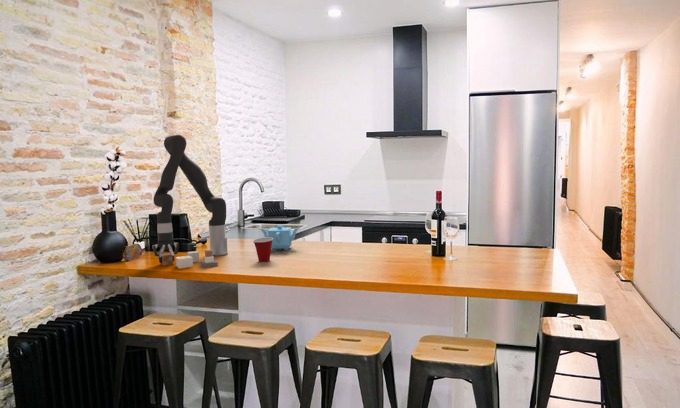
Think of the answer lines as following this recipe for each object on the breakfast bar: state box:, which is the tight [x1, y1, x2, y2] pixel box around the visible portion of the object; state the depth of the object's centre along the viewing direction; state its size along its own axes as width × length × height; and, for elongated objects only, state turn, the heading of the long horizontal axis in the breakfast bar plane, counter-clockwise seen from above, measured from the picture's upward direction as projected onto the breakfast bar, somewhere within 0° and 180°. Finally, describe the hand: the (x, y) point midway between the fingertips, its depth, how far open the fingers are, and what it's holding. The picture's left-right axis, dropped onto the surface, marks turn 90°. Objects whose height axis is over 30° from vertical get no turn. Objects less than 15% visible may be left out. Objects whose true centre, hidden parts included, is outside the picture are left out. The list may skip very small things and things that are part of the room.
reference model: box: [200, 249, 219, 269], centre depth 263 cm, size 7×7×8 cm
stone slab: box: [122, 243, 143, 262], centre depth 287 cm, size 15×3×8 cm, turn 168°
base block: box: [175, 255, 194, 270], centre depth 263 cm, size 7×7×5 cm
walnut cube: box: [161, 253, 174, 266], centre depth 271 cm, size 5×5×5 cm
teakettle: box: [259, 224, 301, 252], centre depth 306 cm, size 19×19×15 cm
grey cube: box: [187, 250, 200, 263], centre depth 277 cm, size 5×5×5 cm
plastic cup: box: [252, 236, 273, 263], centre depth 272 cm, size 11×11×12 cm
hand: (166, 262), depth 271 cm, fingers closed on walnut cube, 5 cm apart
